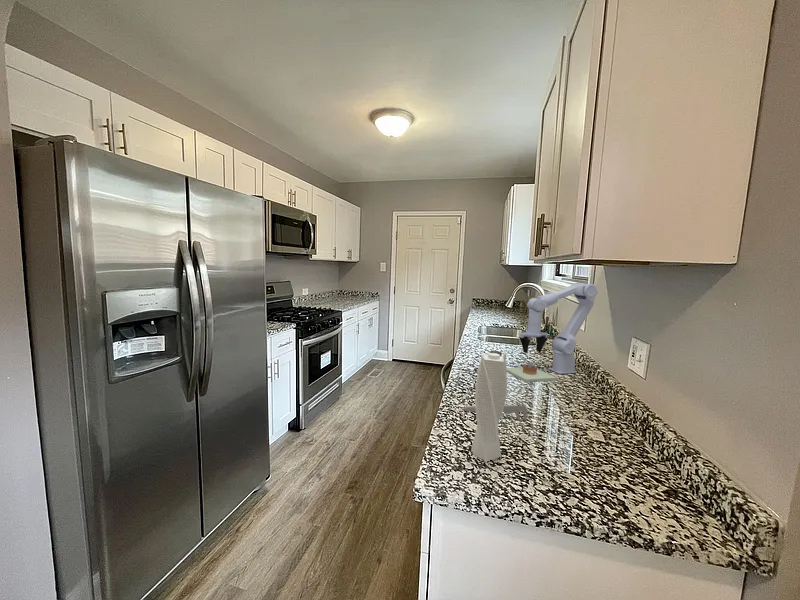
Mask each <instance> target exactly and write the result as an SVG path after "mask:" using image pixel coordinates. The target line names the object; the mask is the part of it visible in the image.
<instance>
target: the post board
mask: <svg viewBox="0 0 800 600" xmlns="http://www.w3.org/2000/svg"><path fill="white" fill-rule="evenodd" d="M527 365H528V367H530V368H533V365H534V363H533V362H527ZM506 371H507V374H510V375H511V374H512V375H511V376H513V377H515V378H517V379H519V380H521V382H525V383H535V382H550V381H554V382H555V381H557V379H558V377H556V376H554V375H552V374H550V373H547V372H545V371H543V370H541V369H538V368H537V373H536V375H529V374H525V373H523V366H522V367H521V366H519V367H506Z"/></svg>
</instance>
